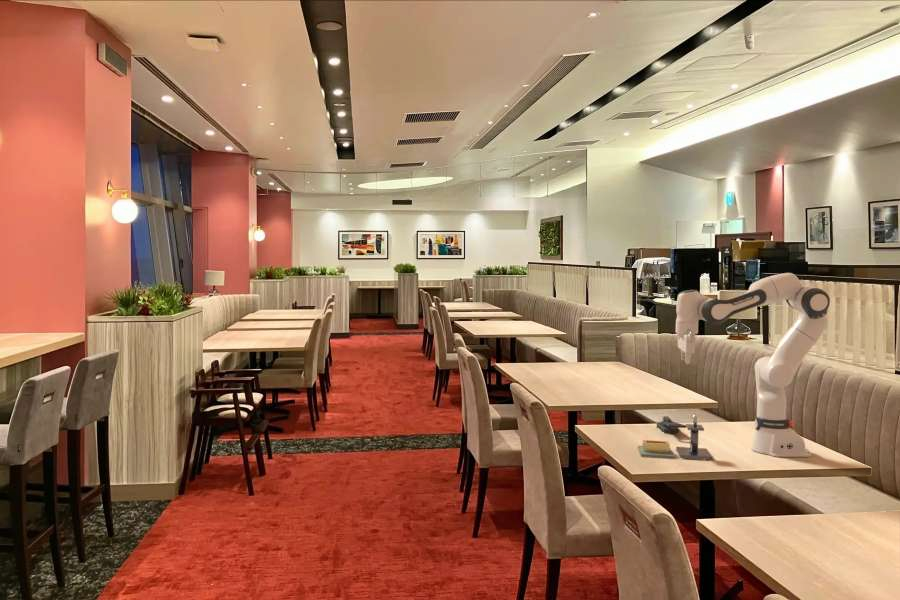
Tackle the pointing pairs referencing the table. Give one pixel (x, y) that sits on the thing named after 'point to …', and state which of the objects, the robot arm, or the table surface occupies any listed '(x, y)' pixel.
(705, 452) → the pin stand
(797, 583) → the table surface
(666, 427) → the zipper pull
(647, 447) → the wooden rectangular frame
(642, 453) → the rubber mat
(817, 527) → the table surface
